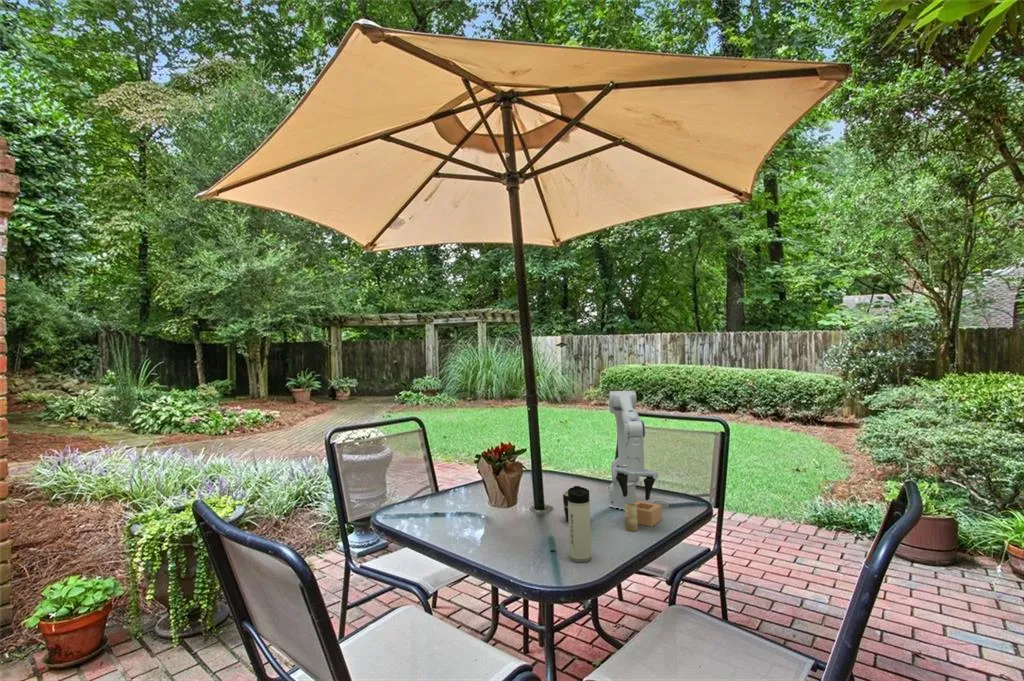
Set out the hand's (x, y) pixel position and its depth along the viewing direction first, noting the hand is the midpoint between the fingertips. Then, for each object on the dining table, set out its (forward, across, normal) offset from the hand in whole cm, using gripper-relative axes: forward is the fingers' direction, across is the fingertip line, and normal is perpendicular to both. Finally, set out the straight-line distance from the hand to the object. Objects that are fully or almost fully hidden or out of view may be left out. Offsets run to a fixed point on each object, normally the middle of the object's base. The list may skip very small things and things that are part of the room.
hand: (636, 497), depth 164 cm
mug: (+11, -19, -5) cm, 23 cm away
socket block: (+10, -1, +9) cm, 14 cm away
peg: (+10, -1, -1) cm, 11 cm away
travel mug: (+11, -6, -30) cm, 33 cm away
